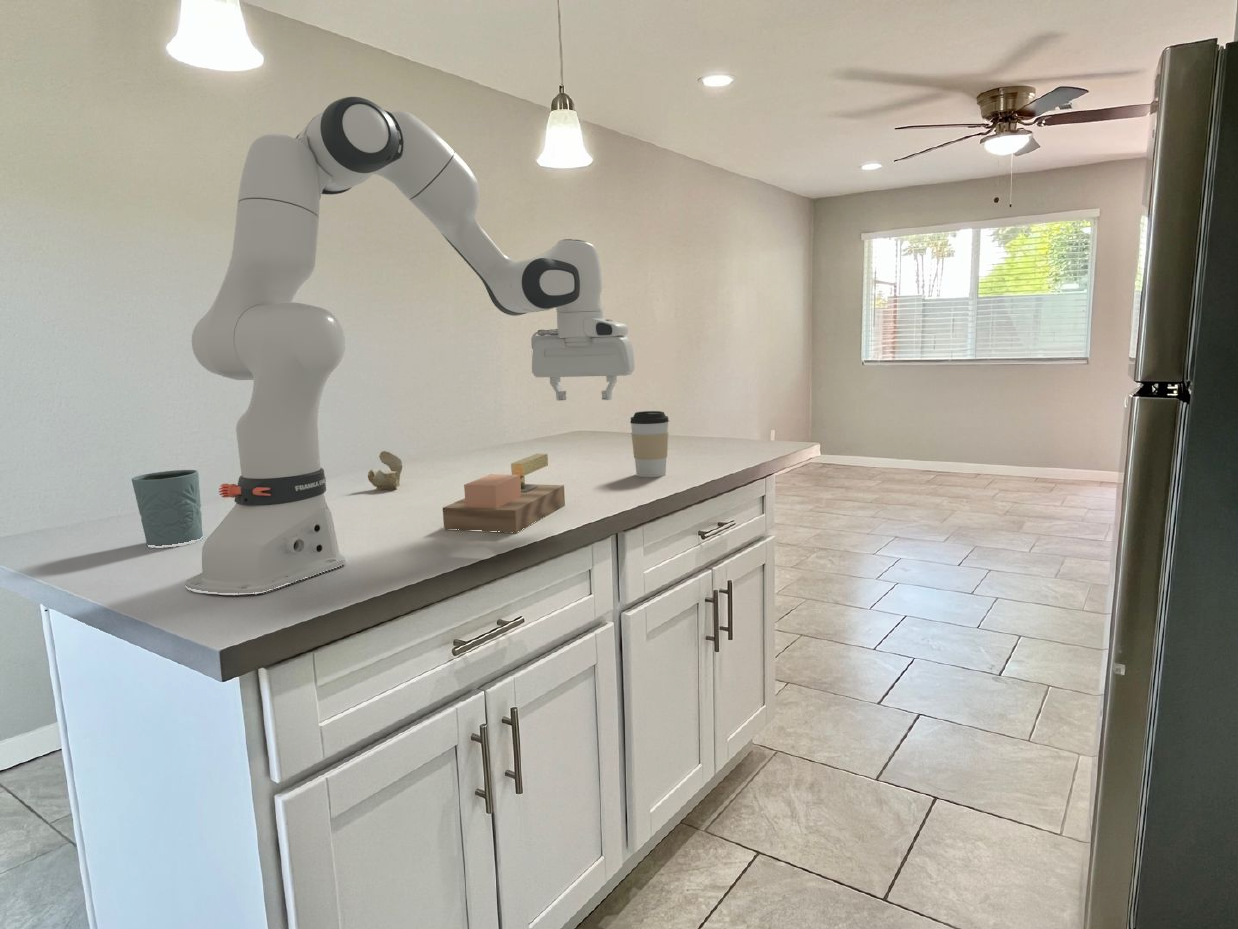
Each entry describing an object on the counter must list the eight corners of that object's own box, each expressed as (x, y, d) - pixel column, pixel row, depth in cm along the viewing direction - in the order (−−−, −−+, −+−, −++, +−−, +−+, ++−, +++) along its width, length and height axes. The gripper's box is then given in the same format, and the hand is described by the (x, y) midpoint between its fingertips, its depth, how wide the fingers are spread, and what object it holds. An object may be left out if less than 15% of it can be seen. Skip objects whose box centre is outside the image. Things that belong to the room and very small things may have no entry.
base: (516, 533, 133) (515, 509, 133) (444, 529, 138) (442, 506, 137) (564, 505, 154) (563, 484, 153) (500, 502, 158) (499, 482, 158)
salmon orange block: (496, 508, 135) (495, 485, 134) (465, 507, 137) (464, 484, 136) (521, 496, 144) (520, 475, 144) (492, 495, 146) (490, 474, 145)
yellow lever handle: (523, 488, 149) (522, 463, 149) (512, 488, 150) (510, 463, 149) (548, 476, 161) (547, 453, 160) (537, 476, 161) (536, 453, 161)
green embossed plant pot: (173, 551, 130) (163, 480, 128) (126, 548, 133) (116, 479, 131) (220, 535, 140) (211, 469, 138) (175, 533, 143) (166, 468, 141)
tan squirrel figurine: (379, 487, 172) (367, 446, 174) (368, 499, 176) (356, 459, 178) (414, 484, 177) (402, 444, 180) (403, 495, 182) (391, 456, 184)
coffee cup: (645, 470, 190) (644, 408, 187) (677, 472, 184) (676, 409, 182) (624, 476, 182) (621, 412, 180) (656, 479, 177) (654, 413, 175)
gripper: (524, 330, 150) (528, 402, 153) (625, 325, 144) (628, 401, 146) (537, 329, 156) (541, 399, 158) (635, 325, 150) (638, 397, 152)
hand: (584, 400), depth 152 cm, fingers open, 8 cm apart
